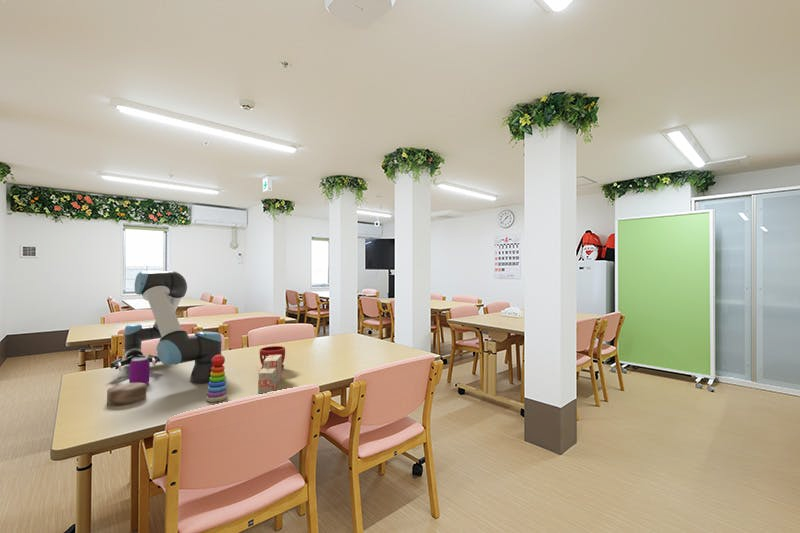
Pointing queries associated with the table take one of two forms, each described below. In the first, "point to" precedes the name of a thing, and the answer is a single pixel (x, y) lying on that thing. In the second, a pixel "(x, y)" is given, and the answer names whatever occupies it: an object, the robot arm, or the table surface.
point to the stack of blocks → (270, 374)
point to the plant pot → (272, 353)
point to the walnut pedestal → (126, 394)
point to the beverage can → (139, 370)
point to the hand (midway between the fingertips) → (137, 365)
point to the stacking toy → (217, 380)
